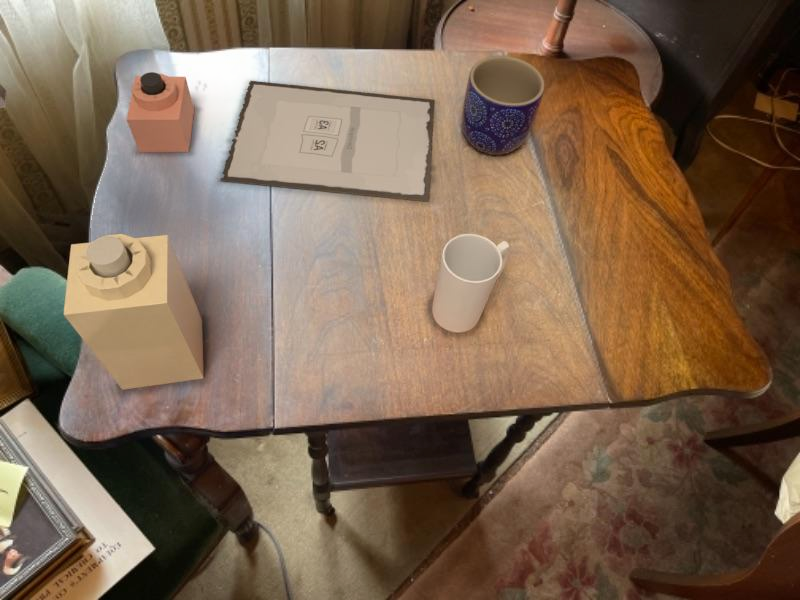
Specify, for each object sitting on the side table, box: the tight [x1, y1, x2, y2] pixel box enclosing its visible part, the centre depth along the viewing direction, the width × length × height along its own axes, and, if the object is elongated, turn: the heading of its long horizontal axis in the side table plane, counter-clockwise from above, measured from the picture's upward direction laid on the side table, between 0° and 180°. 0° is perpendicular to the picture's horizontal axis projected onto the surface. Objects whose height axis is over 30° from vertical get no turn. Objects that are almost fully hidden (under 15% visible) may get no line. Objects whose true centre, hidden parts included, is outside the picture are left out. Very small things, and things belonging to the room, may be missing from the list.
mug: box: [431, 233, 511, 334], centre depth 73 cm, size 10×7×12 cm, turn 125°
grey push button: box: [86, 235, 130, 277], centre depth 55 cm, size 3×3×2 cm
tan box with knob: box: [63, 233, 205, 391], centre depth 64 cm, size 9×8×19 cm
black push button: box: [140, 71, 164, 95], centre depth 84 cm, size 3×3×2 cm
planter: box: [461, 55, 546, 156], centre depth 90 cm, size 11×11×11 cm
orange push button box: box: [126, 73, 195, 153], centre depth 87 cm, size 7×9×8 cm
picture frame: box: [219, 80, 435, 202], centre depth 92 cm, size 22×1×30 cm
